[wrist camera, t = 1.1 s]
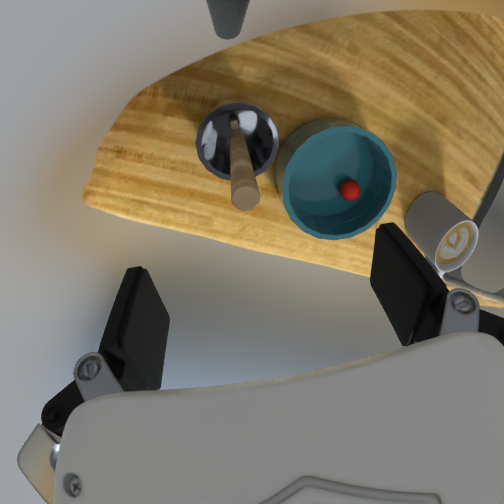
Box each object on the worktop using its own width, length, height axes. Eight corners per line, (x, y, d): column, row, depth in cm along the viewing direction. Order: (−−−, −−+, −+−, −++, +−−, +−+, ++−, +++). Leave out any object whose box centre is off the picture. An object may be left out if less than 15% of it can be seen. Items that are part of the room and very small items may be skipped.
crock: (197, 104, 32) (188, 112, 24) (262, 92, 32) (273, 97, 24) (210, 162, 36) (205, 187, 29) (270, 151, 36) (283, 174, 29)
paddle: (226, 116, 33) (225, 171, 15) (239, 113, 33) (255, 166, 15) (231, 142, 35) (237, 228, 17) (243, 140, 35) (264, 224, 17)
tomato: (336, 178, 38) (344, 186, 36) (355, 175, 38) (364, 183, 36) (337, 196, 40) (344, 205, 38) (355, 194, 40) (363, 203, 38)
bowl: (267, 123, 34) (275, 132, 29) (376, 116, 34) (398, 124, 29) (280, 225, 43) (288, 248, 38) (374, 211, 43) (391, 230, 38)
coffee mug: (413, 189, 41) (448, 219, 33) (451, 193, 41) (485, 221, 33) (393, 255, 48) (418, 290, 40) (431, 253, 49) (457, 285, 41)
